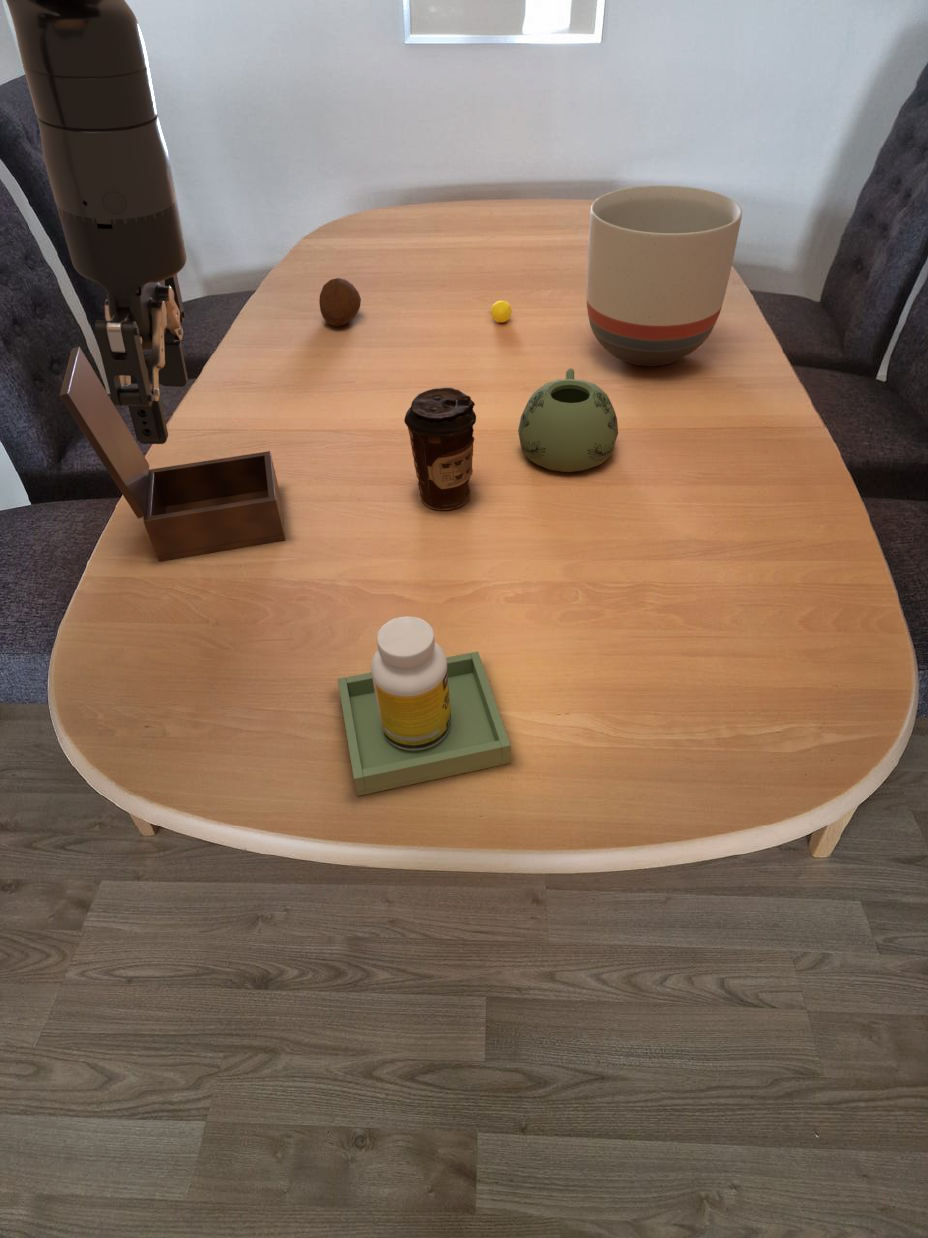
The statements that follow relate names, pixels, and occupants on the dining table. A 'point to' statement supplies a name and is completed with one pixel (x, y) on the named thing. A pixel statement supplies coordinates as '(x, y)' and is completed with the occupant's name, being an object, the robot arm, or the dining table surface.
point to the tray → (462, 750)
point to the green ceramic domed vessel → (568, 425)
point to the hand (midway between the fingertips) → (164, 411)
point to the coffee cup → (442, 446)
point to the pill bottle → (411, 684)
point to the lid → (105, 430)
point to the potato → (339, 301)
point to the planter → (658, 269)
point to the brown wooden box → (213, 506)
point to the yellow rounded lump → (501, 311)
